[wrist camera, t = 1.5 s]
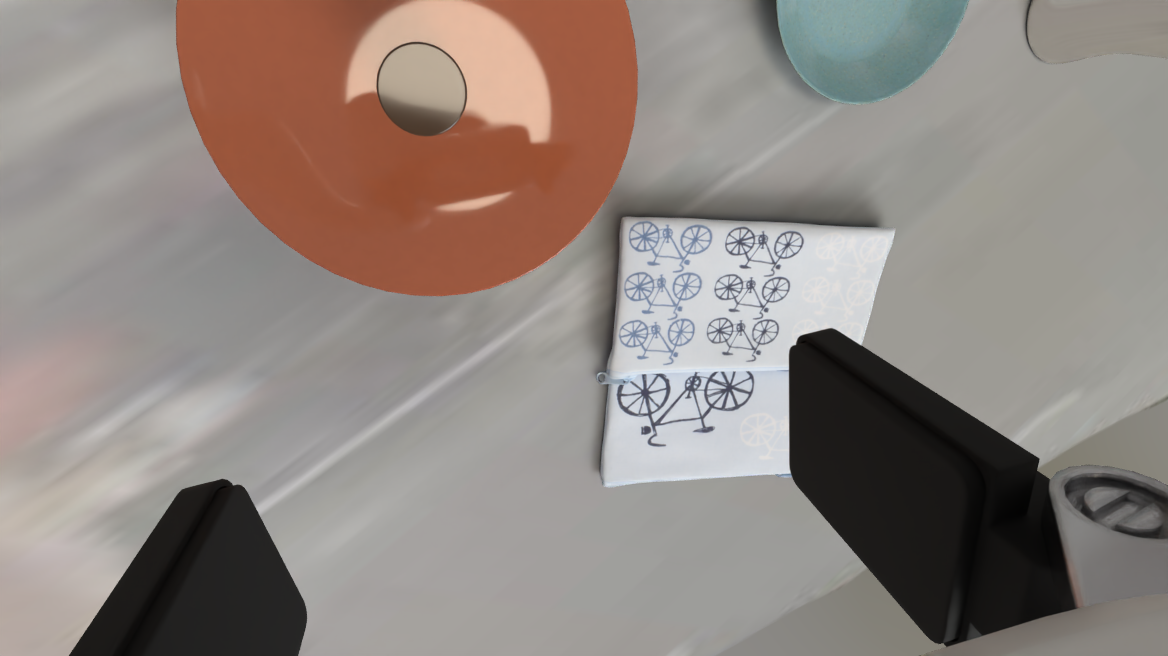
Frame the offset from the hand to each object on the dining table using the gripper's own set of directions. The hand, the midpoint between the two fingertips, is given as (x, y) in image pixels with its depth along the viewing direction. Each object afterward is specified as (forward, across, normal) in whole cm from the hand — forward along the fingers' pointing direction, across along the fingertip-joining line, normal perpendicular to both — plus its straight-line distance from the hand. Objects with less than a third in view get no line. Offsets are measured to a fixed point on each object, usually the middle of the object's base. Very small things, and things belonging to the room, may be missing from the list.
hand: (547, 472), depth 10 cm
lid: (+16, +1, -6) cm, 17 cm away
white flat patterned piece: (+25, -14, +14) cm, 32 cm away
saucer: (+25, -23, -8) cm, 35 cm away
